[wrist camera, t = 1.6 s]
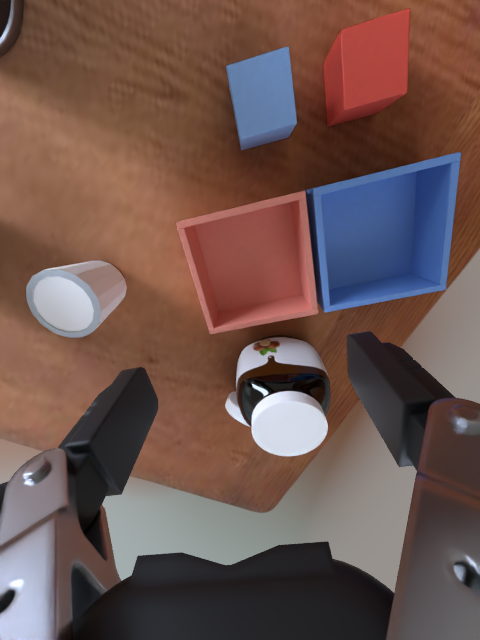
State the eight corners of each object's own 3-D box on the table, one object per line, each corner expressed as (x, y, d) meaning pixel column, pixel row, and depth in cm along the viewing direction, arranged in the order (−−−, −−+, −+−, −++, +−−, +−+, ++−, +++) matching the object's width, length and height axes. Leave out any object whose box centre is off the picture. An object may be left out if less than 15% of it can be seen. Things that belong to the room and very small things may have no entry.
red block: (322, 63, 21) (340, 28, 17) (378, 46, 21) (410, 6, 17) (327, 127, 23) (344, 110, 19) (378, 113, 22) (407, 92, 18)
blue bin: (300, 191, 25) (312, 188, 20) (419, 162, 24) (461, 151, 19) (312, 295, 30) (324, 312, 25) (413, 275, 28) (446, 289, 24)
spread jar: (315, 330, 31) (350, 394, 21) (312, 400, 36) (340, 482, 25) (220, 336, 32) (206, 401, 22) (229, 404, 37) (222, 485, 26)
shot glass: (116, 248, 28) (78, 260, 22) (141, 304, 31) (113, 330, 24) (61, 262, 29) (8, 278, 22) (90, 316, 31) (50, 344, 25)
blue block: (229, 91, 22) (225, 65, 18) (281, 75, 22) (288, 45, 17) (241, 150, 24) (239, 139, 20) (288, 137, 23) (297, 123, 19)
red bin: (187, 219, 26) (175, 222, 22) (294, 192, 25) (305, 190, 21) (215, 315, 31) (209, 334, 26) (307, 296, 30) (318, 313, 25)
